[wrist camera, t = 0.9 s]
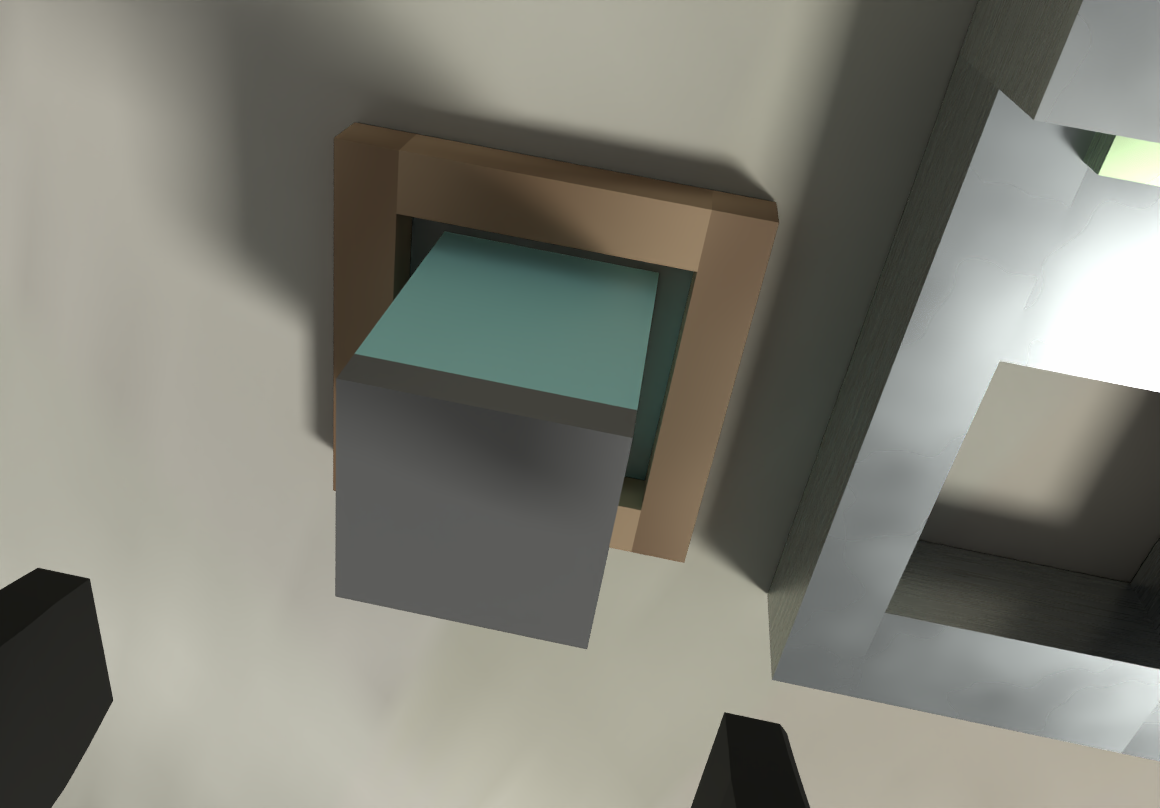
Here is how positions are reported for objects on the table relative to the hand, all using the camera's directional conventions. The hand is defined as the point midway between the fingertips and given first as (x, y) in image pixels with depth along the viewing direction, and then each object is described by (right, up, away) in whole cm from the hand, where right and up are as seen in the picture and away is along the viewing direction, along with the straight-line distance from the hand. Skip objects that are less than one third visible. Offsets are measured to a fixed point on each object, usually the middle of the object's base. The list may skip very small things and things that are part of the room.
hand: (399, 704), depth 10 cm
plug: (+1, +4, +7) cm, 9 cm away
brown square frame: (+1, +4, +7) cm, 9 cm away
